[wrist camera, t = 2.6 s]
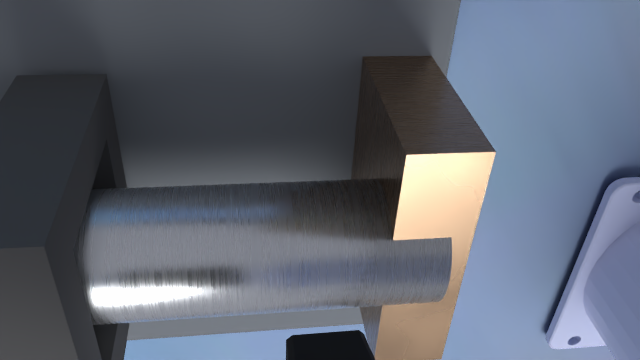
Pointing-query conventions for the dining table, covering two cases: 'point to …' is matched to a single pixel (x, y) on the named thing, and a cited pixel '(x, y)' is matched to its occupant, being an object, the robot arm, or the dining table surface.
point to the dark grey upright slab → (53, 214)
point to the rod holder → (311, 227)
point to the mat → (226, 92)
